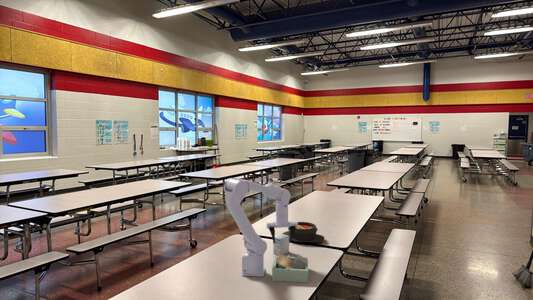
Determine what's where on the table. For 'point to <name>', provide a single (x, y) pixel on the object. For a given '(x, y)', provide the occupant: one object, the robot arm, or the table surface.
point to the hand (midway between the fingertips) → (282, 242)
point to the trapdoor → (284, 261)
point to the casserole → (305, 233)
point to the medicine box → (281, 244)
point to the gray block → (299, 262)
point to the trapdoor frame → (289, 272)
